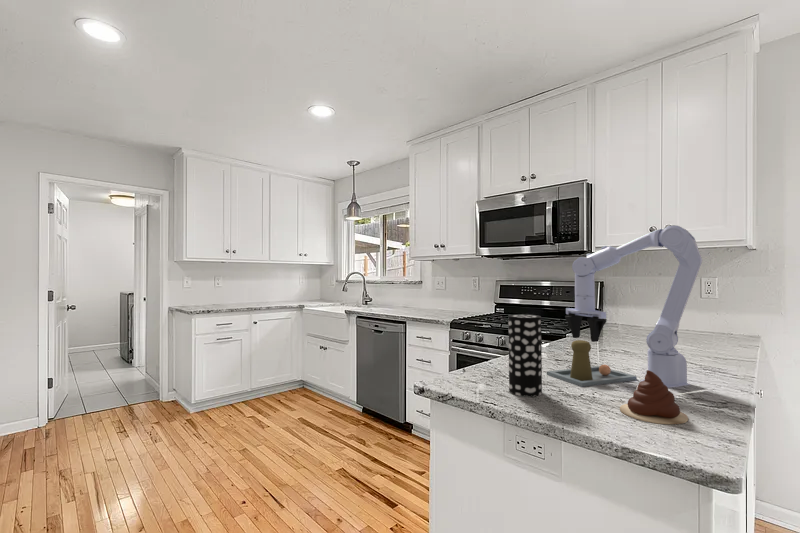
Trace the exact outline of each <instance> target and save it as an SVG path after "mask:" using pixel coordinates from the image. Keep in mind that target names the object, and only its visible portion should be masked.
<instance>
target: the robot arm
mask: <svg viewBox="0 0 800 533" xmlns="http://www.w3.org/2000/svg"><path fill="white" fill-rule="evenodd" d="M664 247H665V248H666V250H668V251H670V252H671V253H672V254H673V257H675V258H676V259H677V261H678V263H679V264H678V267H677V269H676V272H675V275H674V277H673V280H672V283H671V285H670V288H669V291H668V294H667V297H666V299H665V303H664V305H663V308H662V310H661V313H660V316H659V318H658V320H657V322H656V324H655V326H654V329H653V330H651V331H650V332H649V333H648V334H647V336H646V338H645V339H646V340H645V341H646V342H645V343H646V345H647V347H648V349H647V370H649V371H652V372H653V373H655V374H656V375H657V376H658V377H659V378H660V379H661V380H662V382H663V383H664V385H666V386H667V387H668V389H671V388H677V387H684V386H690V385H691V384H690V383H688V365H687V364H688V362H687V360H686V359H687V358H686V357H685V356H684V355H683V354H682V353H681V352H679V351H678V349H676V348H675V346H677V344H678V342H679V338H678V337H679V336H678V331H679V330H678V329H679V328H680V322H681V319H682V317H683V314H684V311H685V308H686V307H687V304H688V300H689V298H690V296H691V292H692V290H693V288H694V285H695V283H696V280H697V276H698V274H699V271H700V269H701V266H702V263H703V257H702V255H701V253H700V252H701V251H700V250H699V248H698V244H697V241H696V238H695V237H694V236H693V235H692V233H691V232H689V231H688V230H687V229H685V228H684V227H682V226H680V225H668V226H666V227H664V228H660V229H656V230H653V231H651V232H648V233H646V234H644V235H642V236H639V237H637V238H635V239H633V240H631V241H629V242H626V243H624V244H622V245H620V246H617V247H614V246H613V245H612V246H611V245H609V246H607V245H604V246H601V248H600V250H597V251H596V252H593V253H586V257H585V256H579V257H577V259H574V261H573V262H572V265H571V268H572V271H573V273H574V308H572V307H571V308H570V307H566V308H565V314H566V315H565V316H564V319H565V320H566V322H567V323H568V326H569V328H570V331H571V335H572V338H573V339H579V338H580V336H581V325H582V320H583V318H584V317H587V318H586V320H587V322H588V325H589V326H588V327H589V331H590V342H592V343H596V342H599V339H600V337H601V336H600V335H601V332H602V330H603V328H604V326H605V324H606V322H607V311H601V310H596V295H595V294H596V292H595V291H596V290H595V289H596V286H595V285H596V282H595V274H596V273H597V272H600V271H602V270H605V269H607V268H610V267H613V266H615V265H619V264H620V262H621V260H622V258H624V257H626V256H629V255H631V254H635V253H637V252H640V251H642V250H645V249H648V248H664ZM644 380H645V379H641V380H640V382H641V381H644Z"/></svg>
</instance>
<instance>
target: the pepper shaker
mask: <svg viewBox="0 0 800 533" xmlns="http://www.w3.org/2000/svg"><path fill="white" fill-rule="evenodd" d="M570 346H571V347H570V348H571V350H572V359H571V360H572V362H571V368H570V369H571V374H570V377H571V378H574V379H577V380H580V381H587V380H593V378H592V371H591V367H592V366H591V365H592V364H591V359H590V351H591V350H592V349H591V348H592V346H591V344H590V342H589V341H587V340H583V339H577V340H573V341H572V342H571V345H570Z"/></svg>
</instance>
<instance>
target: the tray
mask: <svg viewBox="0 0 800 533" xmlns="http://www.w3.org/2000/svg"><path fill="white" fill-rule="evenodd" d="M600 366H601V365H593V366H591V371H592V378H593V380H587V381H580V380H577V379H574V378H571V377H570V374H571V368H566V369H558V370H557V369H556V370H546V376H548V377H552V378H555V379H558V380H561V381H563V382H567V383H569V384H572V385H575V386H577V387H581V388H582V387H583V388H584V387H591V386H592V387H593V386H598V385H599V386H600V385H608V384H615V383H616V384H617V383H622V382H624V383H625V382H630V381H637V377H638V376H637V375H633V374H630V373H627V372H623V371H618V370H615V369H611V368H610V369H611V372H610V374H609V375H607V376H604V375H602V374H601V373H600V372H599V367H600Z"/></svg>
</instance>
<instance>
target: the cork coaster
mask: <svg viewBox="0 0 800 533" xmlns="http://www.w3.org/2000/svg"><path fill="white" fill-rule="evenodd" d="M619 411H620V413H622V414H623V415H625V416H627V417H629V418H632V419H634V420H637V421H640V422H641V421H642V422H646V423H649V424H650V423H651V424H657V425H667V426H668V425H669V426H670V425H671V426H672V425H682V424H685V423H687V422H689V417H688V415H687V414H686V413H684V412H683V411H680V414H679V415H678V416H677V417H675V418H665V417H661V416H658V415H654V416H644V415H639V414H636V413H634V412H632V411H631V410H630V409H629V408H628V403H625V404H622V405H620V406H619Z"/></svg>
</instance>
